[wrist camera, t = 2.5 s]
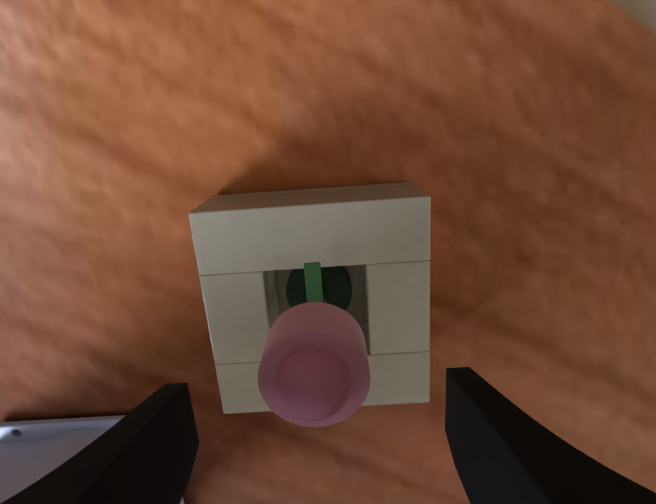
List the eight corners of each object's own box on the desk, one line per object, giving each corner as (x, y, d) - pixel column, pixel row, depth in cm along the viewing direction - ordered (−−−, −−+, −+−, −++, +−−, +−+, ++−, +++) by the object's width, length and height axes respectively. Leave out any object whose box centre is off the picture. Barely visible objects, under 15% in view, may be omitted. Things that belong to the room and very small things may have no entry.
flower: (287, 319, 20) (258, 458, 12) (278, 236, 19) (238, 328, 11) (357, 314, 20) (376, 451, 12) (352, 231, 19) (370, 319, 11)
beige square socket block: (241, 365, 22) (223, 414, 18) (214, 194, 19) (187, 212, 15) (413, 354, 21) (429, 402, 18) (411, 181, 19) (431, 196, 15)
